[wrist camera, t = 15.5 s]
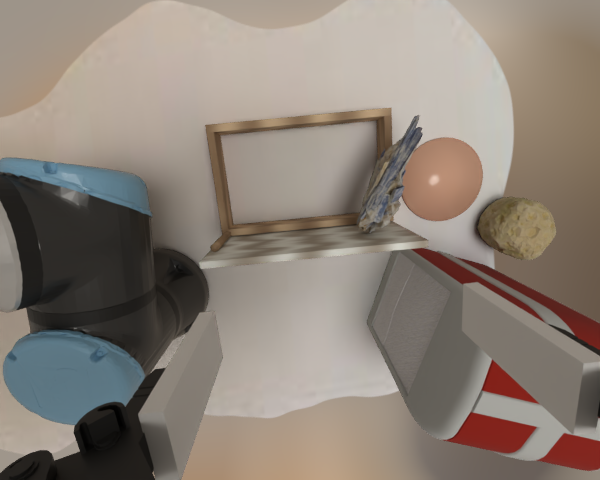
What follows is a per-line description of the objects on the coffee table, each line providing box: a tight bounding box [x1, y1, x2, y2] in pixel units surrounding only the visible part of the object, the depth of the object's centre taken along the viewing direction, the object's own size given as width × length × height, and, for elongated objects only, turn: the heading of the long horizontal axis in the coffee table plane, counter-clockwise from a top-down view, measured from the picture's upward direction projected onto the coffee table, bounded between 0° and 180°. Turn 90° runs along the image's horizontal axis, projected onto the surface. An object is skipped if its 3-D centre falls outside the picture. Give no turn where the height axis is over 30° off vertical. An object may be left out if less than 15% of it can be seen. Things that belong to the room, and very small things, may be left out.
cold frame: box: [199, 108, 428, 269], centre depth 40 cm, size 26×17×16 cm, turn 95°
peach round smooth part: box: [402, 138, 483, 221], centre depth 48 cm, size 13×13×1 cm
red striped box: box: [367, 248, 600, 471], centre depth 40 cm, size 16×18×27 cm
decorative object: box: [477, 197, 556, 260], centre depth 47 cm, size 9×10×10 cm
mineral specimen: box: [357, 115, 422, 233], centre depth 39 cm, size 15×8×4 cm
